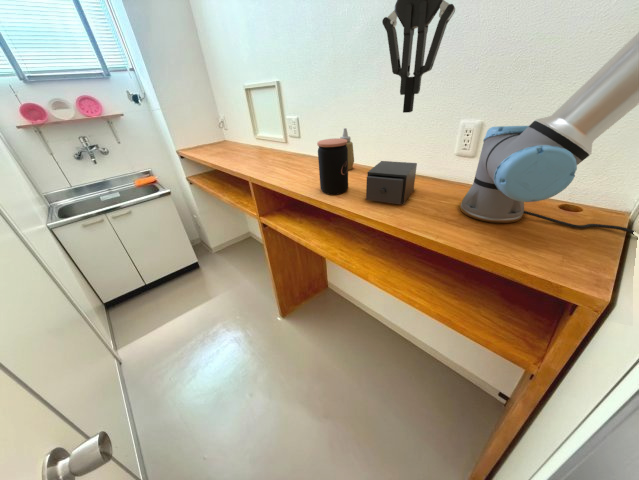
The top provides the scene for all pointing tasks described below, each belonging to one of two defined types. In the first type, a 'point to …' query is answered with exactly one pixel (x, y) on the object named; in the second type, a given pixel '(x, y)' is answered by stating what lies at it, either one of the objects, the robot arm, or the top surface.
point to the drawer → (384, 189)
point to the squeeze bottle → (349, 149)
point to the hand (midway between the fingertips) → (407, 111)
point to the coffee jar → (333, 165)
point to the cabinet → (397, 174)
